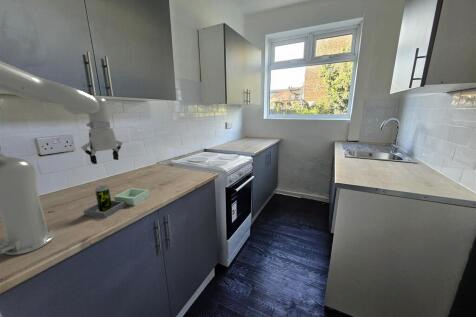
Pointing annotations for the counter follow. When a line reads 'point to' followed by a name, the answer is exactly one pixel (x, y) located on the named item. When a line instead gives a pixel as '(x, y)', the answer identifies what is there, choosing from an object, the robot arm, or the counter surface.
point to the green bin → (132, 196)
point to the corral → (117, 206)
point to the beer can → (103, 198)
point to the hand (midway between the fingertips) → (105, 161)
